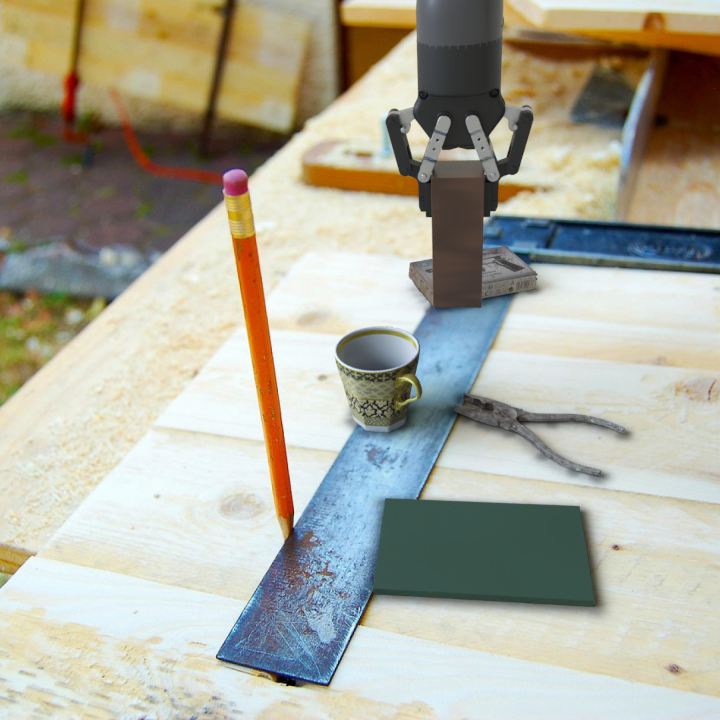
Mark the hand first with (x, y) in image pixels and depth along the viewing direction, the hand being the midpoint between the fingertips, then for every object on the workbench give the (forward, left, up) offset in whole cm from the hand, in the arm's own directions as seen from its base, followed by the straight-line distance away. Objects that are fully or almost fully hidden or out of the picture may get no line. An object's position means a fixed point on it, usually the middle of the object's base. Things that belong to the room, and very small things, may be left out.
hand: (458, 213), depth 76 cm
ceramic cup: (+8, -1, -27) cm, 29 cm away
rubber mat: (-3, +19, -27) cm, 33 cm away
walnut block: (0, 0, -9) cm, 9 cm away
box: (-2, -36, -27) cm, 45 cm away
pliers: (-9, +1, -27) cm, 29 cm away
